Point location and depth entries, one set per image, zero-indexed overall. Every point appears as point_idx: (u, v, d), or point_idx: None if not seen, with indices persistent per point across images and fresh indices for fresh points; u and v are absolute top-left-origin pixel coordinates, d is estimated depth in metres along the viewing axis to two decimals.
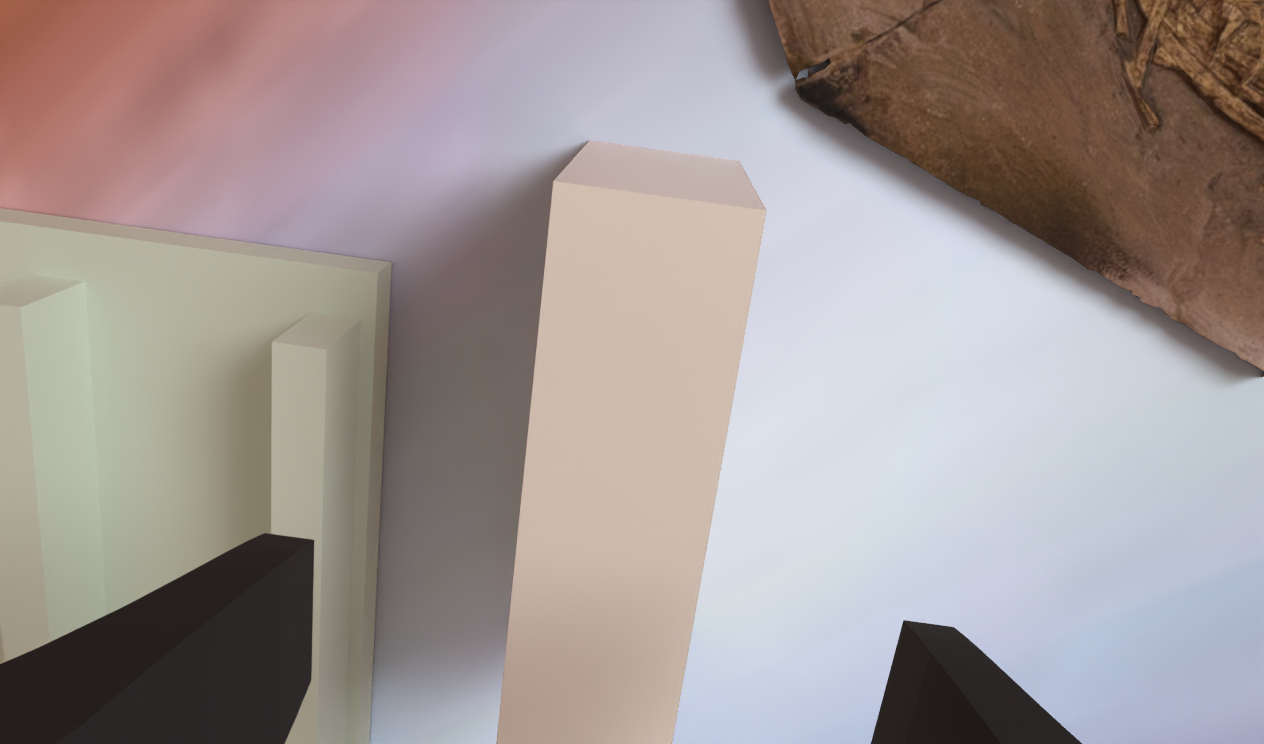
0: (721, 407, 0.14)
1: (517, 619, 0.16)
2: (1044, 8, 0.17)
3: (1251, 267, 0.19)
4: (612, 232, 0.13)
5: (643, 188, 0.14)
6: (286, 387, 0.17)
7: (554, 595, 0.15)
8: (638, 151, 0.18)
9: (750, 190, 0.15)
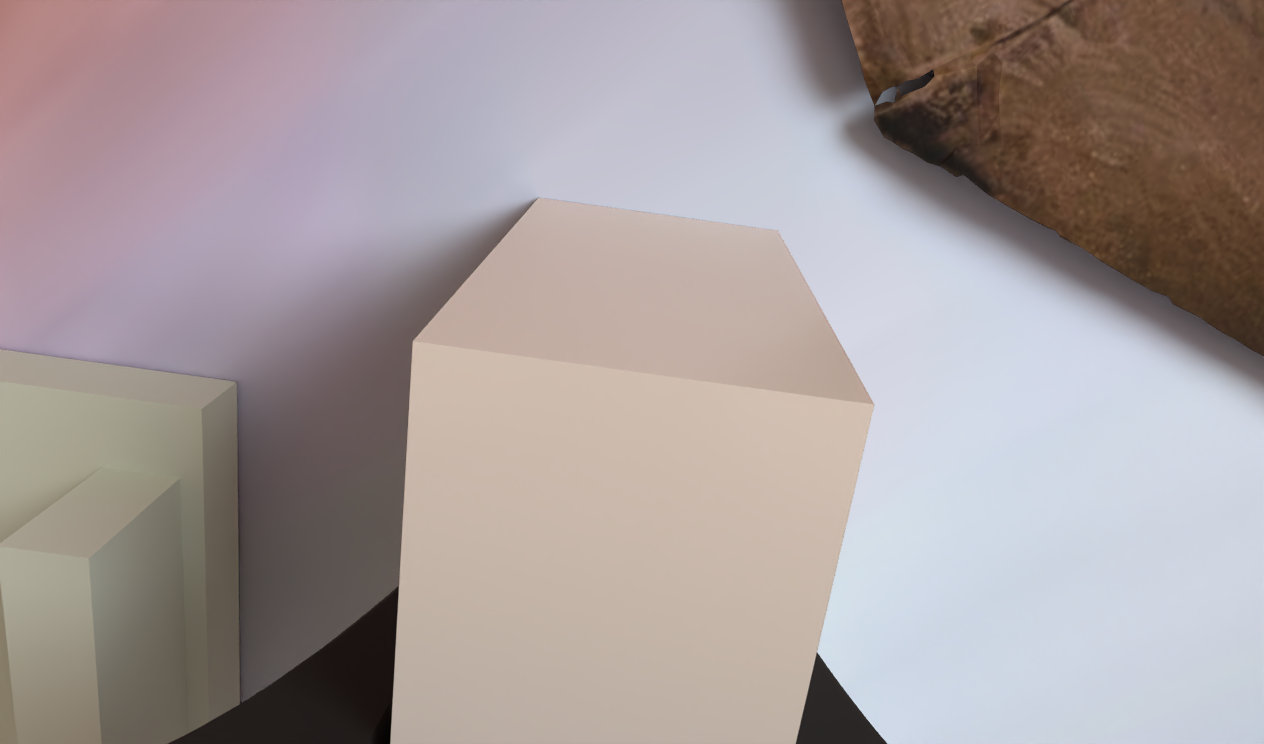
0: None
1: None
2: None
3: None
4: (543, 445, 0.06)
5: (610, 346, 0.07)
6: (28, 616, 0.10)
7: None
8: (614, 221, 0.11)
9: (820, 323, 0.08)
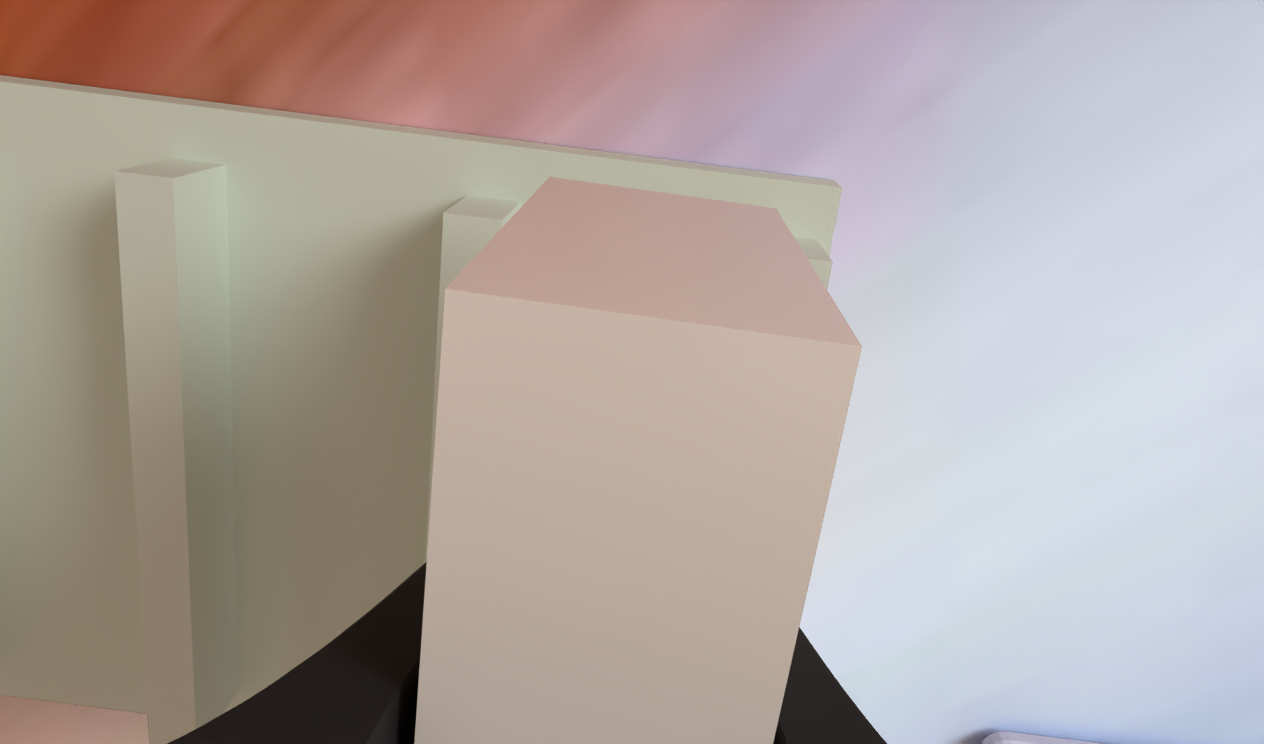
0: (766, 690, 0.08)
1: None
2: None
3: None
4: (562, 385, 0.07)
5: (622, 296, 0.07)
6: None
7: None
8: (622, 197, 0.12)
9: (814, 283, 0.08)
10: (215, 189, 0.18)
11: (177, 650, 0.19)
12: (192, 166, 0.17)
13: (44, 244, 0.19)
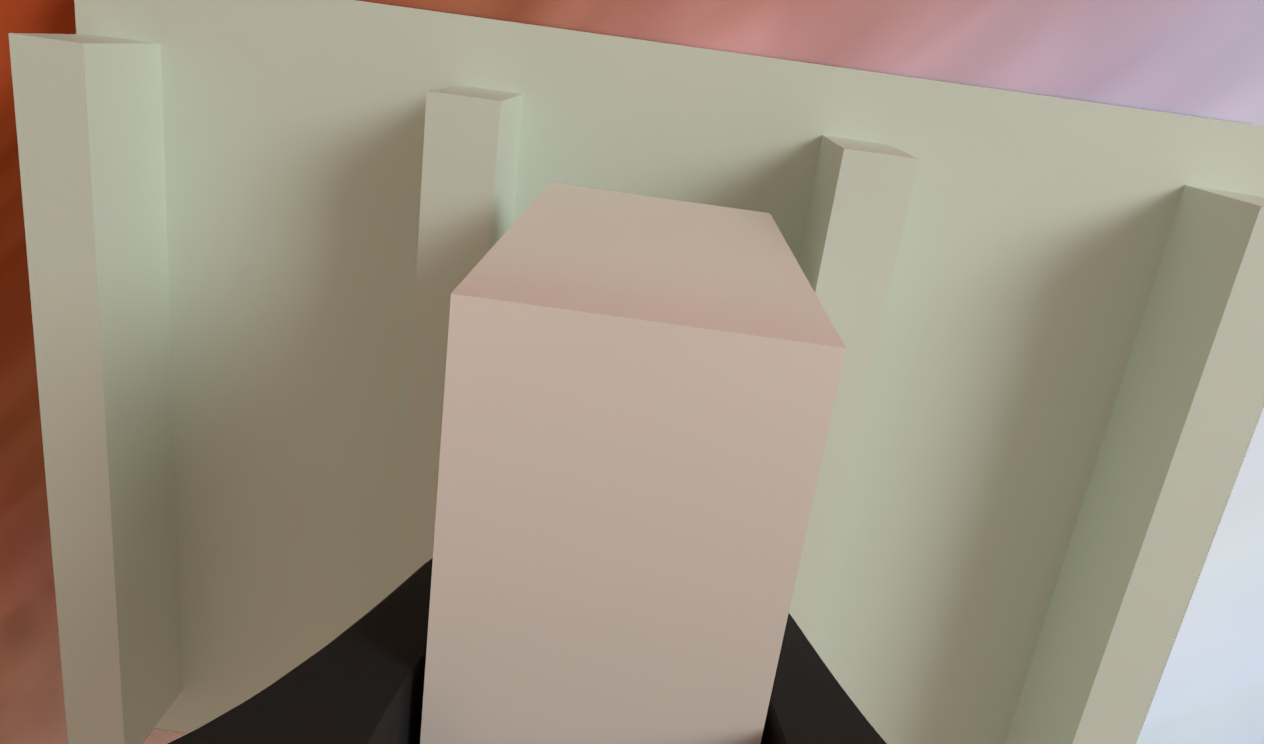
0: (757, 675, 0.08)
1: None
2: None
3: None
4: (560, 384, 0.07)
5: (619, 300, 0.08)
6: (1259, 271, 0.13)
7: None
8: (620, 203, 0.12)
9: (803, 287, 0.09)
10: (516, 123, 0.14)
11: None
12: (496, 92, 0.14)
13: (286, 192, 0.15)
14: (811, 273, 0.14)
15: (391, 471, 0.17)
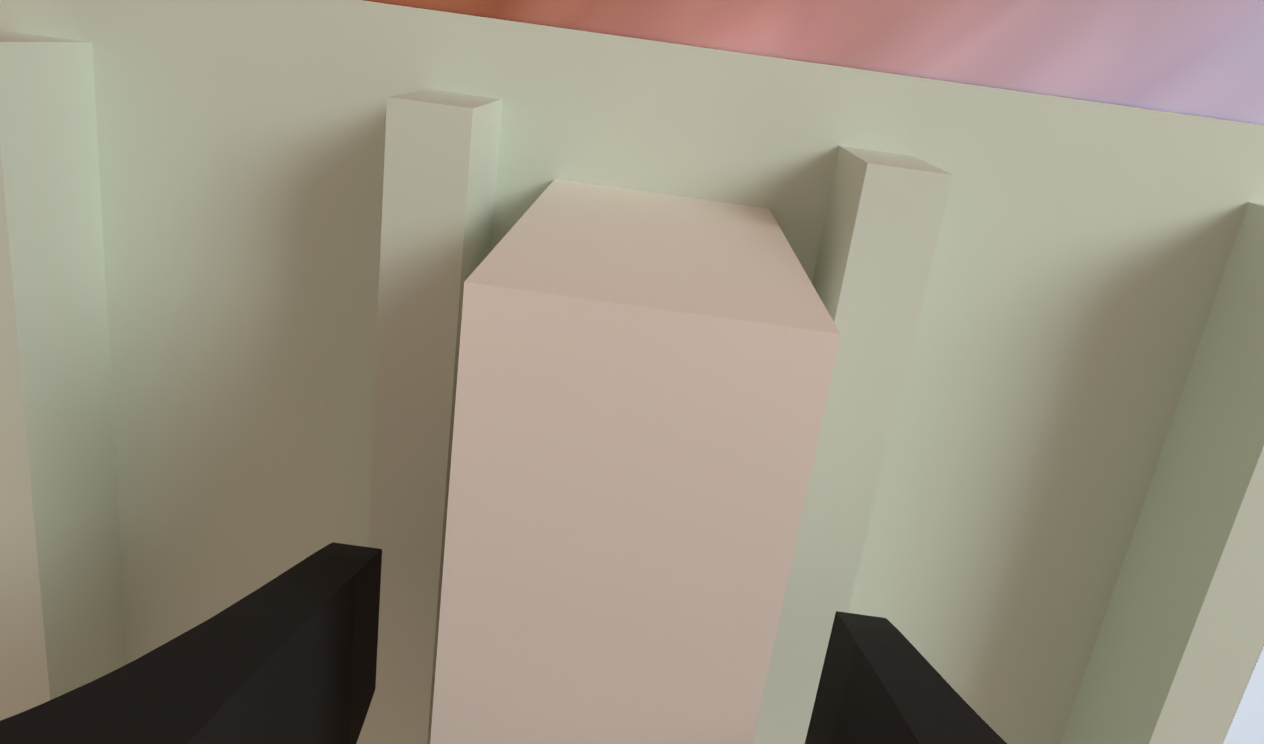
0: (756, 649, 0.08)
1: None
2: None
3: None
4: (569, 368, 0.08)
5: (624, 289, 0.08)
6: None
7: None
8: (623, 198, 0.12)
9: (800, 278, 0.09)
10: (494, 132, 0.12)
11: None
12: (469, 98, 0.12)
13: (237, 209, 0.13)
14: (828, 303, 0.12)
15: (358, 517, 0.15)
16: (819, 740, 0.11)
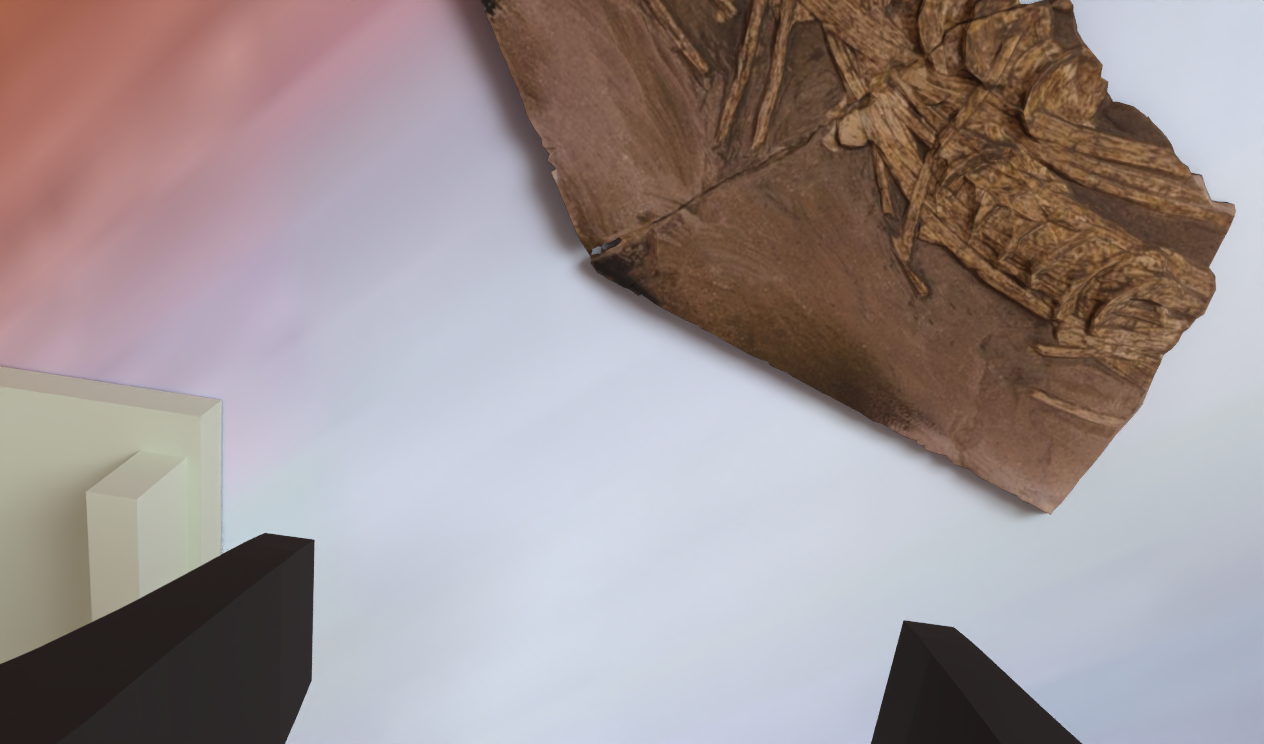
0: None
1: None
2: (814, 192, 0.19)
3: (1024, 418, 0.20)
4: None
5: None
6: (101, 532, 0.19)
7: None
8: None
9: None
10: None
11: None
12: None
13: None
14: None
15: None
16: None
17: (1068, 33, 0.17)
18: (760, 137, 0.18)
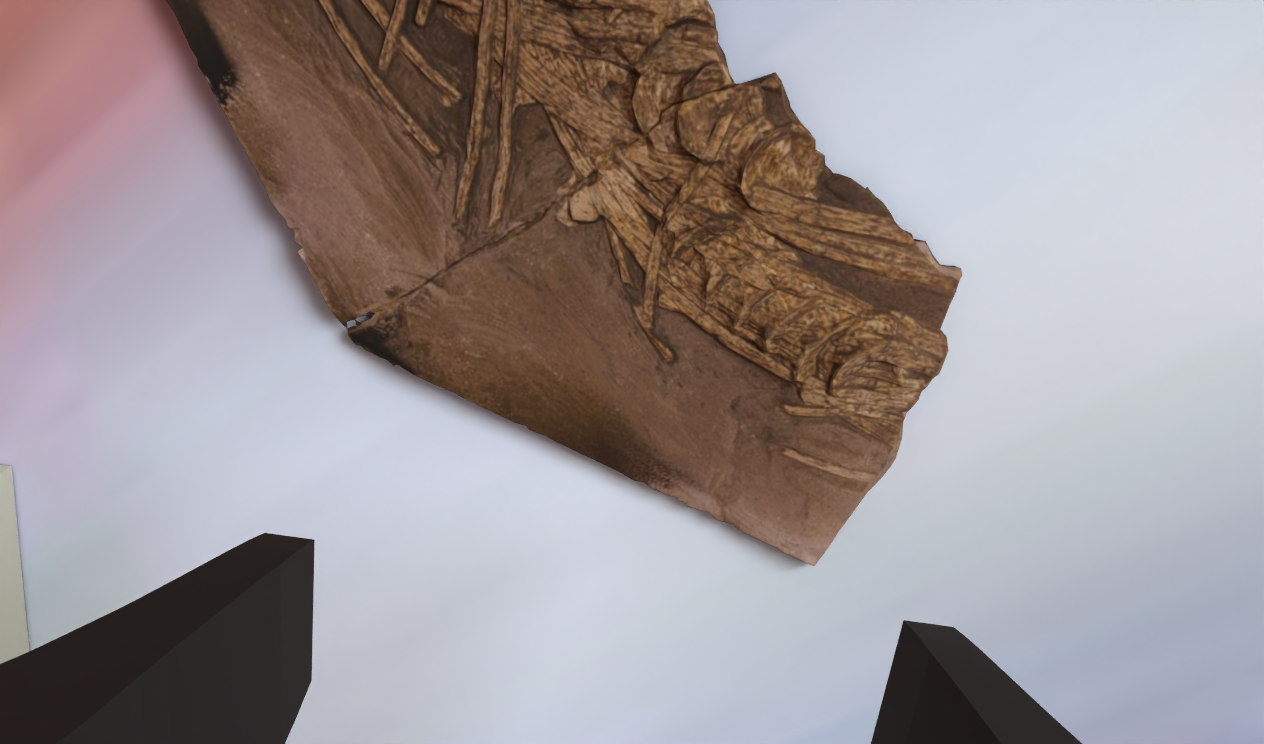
0: None
1: None
2: (554, 265, 0.19)
3: (778, 475, 0.21)
4: None
5: None
6: None
7: None
8: None
9: None
10: None
11: None
12: None
13: None
14: None
15: None
16: None
17: (779, 111, 0.18)
18: (496, 214, 0.19)
